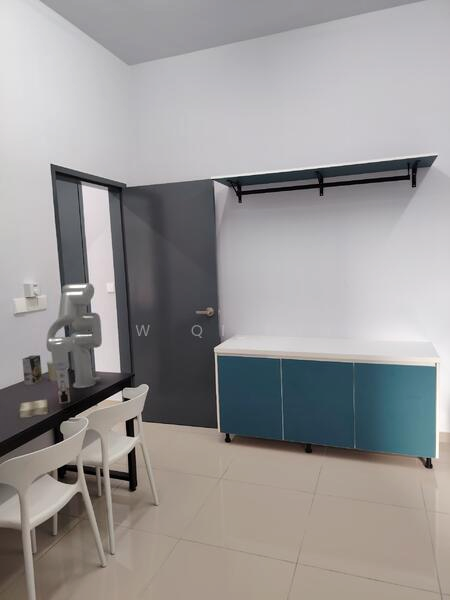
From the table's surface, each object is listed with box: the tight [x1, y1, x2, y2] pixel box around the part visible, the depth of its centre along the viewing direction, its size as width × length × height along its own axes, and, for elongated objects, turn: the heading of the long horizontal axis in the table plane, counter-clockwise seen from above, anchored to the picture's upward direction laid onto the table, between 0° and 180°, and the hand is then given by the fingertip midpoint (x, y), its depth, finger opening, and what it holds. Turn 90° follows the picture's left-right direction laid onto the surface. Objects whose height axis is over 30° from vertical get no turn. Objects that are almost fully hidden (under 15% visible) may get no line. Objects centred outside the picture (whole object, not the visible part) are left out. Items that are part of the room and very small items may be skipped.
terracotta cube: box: [57, 388, 71, 404], centre depth 215 cm, size 5×5×5 cm
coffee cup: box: [46, 359, 57, 382], centre depth 264 cm, size 9×9×12 cm
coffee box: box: [21, 354, 43, 386], centre depth 259 cm, size 9×6×16 cm
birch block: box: [19, 398, 49, 419], centre depth 210 cm, size 12×12×4 cm
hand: (64, 399), depth 216 cm, fingers closed on terracotta cube, 4 cm apart
